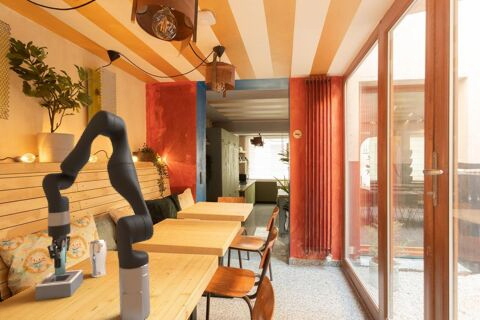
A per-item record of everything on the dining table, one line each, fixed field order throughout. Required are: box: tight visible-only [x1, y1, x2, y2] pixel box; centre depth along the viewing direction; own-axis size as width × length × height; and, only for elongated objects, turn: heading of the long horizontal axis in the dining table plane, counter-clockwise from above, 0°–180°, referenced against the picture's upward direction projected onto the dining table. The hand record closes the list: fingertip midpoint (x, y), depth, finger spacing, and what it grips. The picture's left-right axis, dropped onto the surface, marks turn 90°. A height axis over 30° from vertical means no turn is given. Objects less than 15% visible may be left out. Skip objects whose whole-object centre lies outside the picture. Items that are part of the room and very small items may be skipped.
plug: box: [54, 243, 67, 276], centre depth 107 cm, size 4×4×12 cm
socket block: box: [34, 269, 84, 301], centre depth 107 cm, size 12×12×5 cm
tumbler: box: [88, 238, 108, 278], centre depth 122 cm, size 7×7×15 cm
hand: (60, 265), depth 107 cm, fingers closed on plug, 3 cm apart
